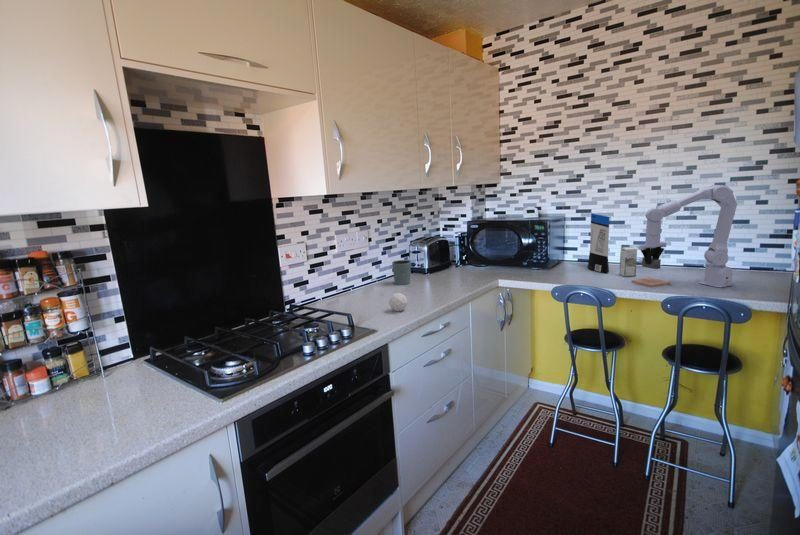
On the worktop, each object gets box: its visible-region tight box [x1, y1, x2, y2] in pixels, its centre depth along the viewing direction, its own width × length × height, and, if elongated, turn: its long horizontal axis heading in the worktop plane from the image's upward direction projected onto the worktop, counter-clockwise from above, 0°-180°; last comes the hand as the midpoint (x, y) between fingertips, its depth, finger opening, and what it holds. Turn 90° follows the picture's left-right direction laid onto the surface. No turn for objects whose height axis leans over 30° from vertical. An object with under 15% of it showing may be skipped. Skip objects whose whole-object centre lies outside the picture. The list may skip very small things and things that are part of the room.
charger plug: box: [638, 257, 662, 270], centre depth 195 cm, size 10×4×4 cm, turn 18°
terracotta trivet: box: [631, 277, 671, 288], centre depth 196 cm, size 11×11×1 cm
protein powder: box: [587, 213, 610, 275], centre depth 227 cm, size 10×24×30 cm, turn 176°
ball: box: [388, 292, 408, 312], centre depth 178 cm, size 8×8×8 cm
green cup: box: [391, 259, 412, 286], centre depth 225 cm, size 10×10×12 cm
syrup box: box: [619, 246, 638, 277], centre depth 211 cm, size 6×6×14 cm
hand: (651, 263), depth 194 cm, fingers closed on charger plug, 4 cm apart
